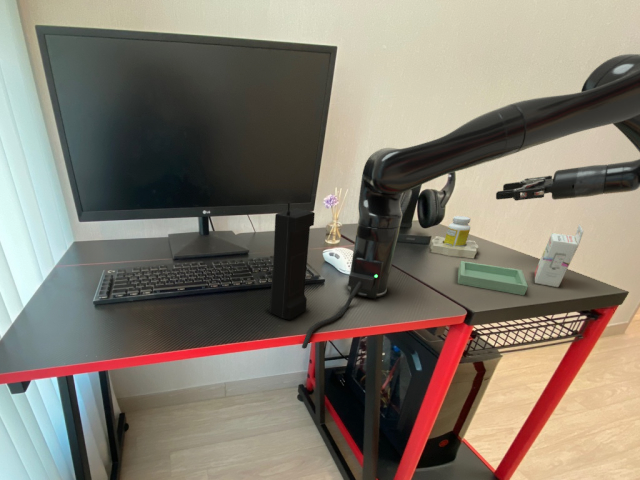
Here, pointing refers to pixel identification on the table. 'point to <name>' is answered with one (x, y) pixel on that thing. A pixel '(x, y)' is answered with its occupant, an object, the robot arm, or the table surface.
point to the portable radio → (290, 262)
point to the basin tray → (492, 277)
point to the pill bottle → (458, 231)
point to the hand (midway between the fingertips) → (499, 191)
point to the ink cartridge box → (557, 258)
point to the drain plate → (454, 248)
